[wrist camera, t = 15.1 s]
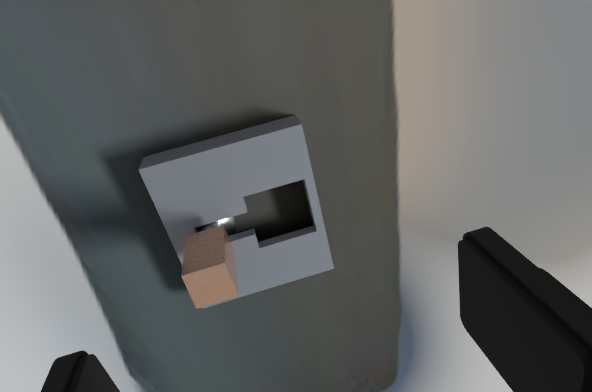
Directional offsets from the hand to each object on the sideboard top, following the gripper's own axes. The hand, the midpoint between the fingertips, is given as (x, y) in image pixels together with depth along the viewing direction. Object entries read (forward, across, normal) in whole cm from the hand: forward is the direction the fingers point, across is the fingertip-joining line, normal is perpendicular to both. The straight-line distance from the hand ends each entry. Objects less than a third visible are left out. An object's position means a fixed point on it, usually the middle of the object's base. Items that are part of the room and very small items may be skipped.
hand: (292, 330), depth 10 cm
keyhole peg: (+30, +6, +12) cm, 33 cm away
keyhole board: (+30, +2, +12) cm, 33 cm away
